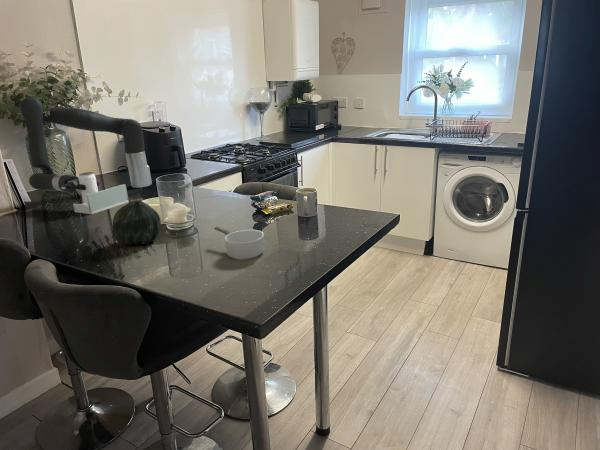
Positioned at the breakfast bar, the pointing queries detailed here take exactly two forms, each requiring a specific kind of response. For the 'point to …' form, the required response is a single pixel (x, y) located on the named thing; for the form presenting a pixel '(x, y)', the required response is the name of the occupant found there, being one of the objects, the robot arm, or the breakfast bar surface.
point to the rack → (103, 200)
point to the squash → (136, 223)
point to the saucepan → (243, 243)
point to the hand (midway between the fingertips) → (91, 185)
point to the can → (88, 184)
